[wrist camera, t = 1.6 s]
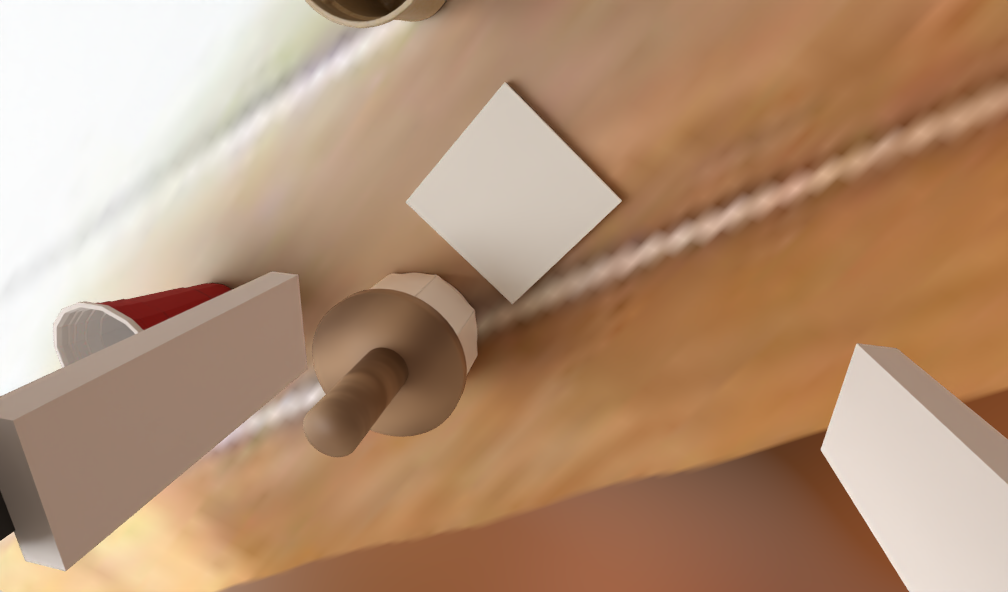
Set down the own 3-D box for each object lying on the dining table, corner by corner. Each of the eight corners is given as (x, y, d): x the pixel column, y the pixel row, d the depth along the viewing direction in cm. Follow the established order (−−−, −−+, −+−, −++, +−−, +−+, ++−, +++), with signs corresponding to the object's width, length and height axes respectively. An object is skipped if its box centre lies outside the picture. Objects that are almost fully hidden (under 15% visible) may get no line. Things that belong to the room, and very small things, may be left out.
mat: (408, 200, 41) (405, 202, 40) (506, 82, 36) (504, 82, 35) (513, 301, 42) (512, 304, 41) (621, 199, 37) (621, 201, 37)
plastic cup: (151, 288, 49) (18, 340, 38) (221, 237, 45) (97, 278, 34) (220, 376, 51) (113, 450, 40) (292, 334, 48) (197, 402, 37)
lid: (293, 355, 40) (209, 420, 32) (378, 255, 36) (305, 301, 27) (403, 452, 41) (350, 540, 33) (499, 368, 37) (465, 445, 28)
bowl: (346, 324, 46) (306, 356, 40) (413, 248, 42) (380, 270, 36) (428, 399, 47) (402, 441, 41) (501, 331, 43) (484, 367, 37)
